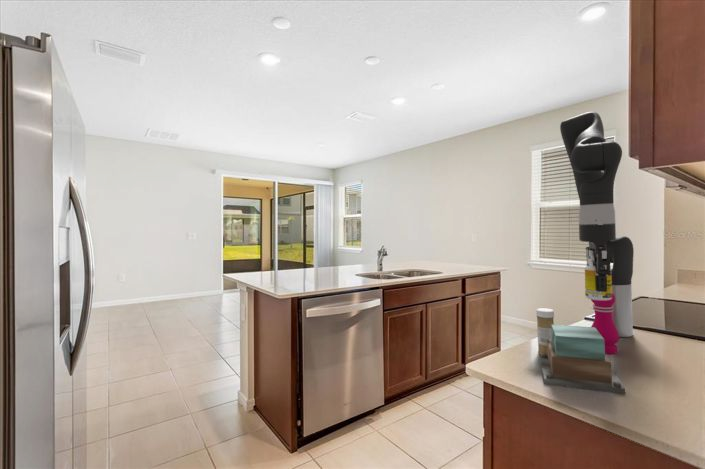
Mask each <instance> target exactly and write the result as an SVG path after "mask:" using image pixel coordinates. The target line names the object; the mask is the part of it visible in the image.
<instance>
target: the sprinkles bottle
mask: <svg viewBox="0 0 705 469" xmlns="http://www.w3.org/2000/svg"><path fill="white" fill-rule="evenodd" d="M535 312H536V313H535V314H536V319H537V320H536V321H537V323H536V324H537V343H538V344H537V346H538V351H537V353H538V354H539V355H542V354H546V355H547V356H548V341H552V328H551V324H552V325H555V324H554V318H555V311H554V310H553V309H552V308H546V307H545V308H544V307H541V308H540V307H539V308H536V310H535Z"/></svg>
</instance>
